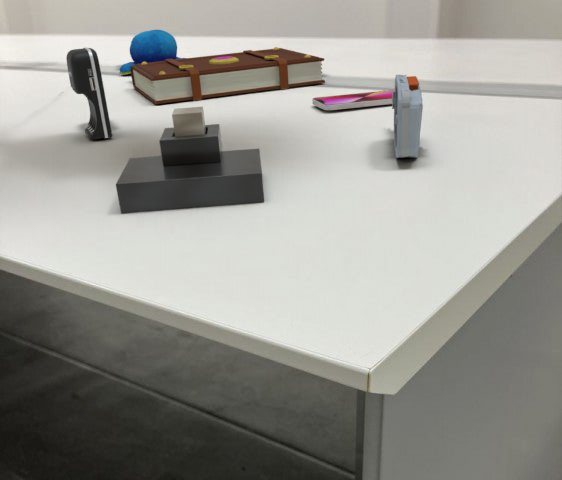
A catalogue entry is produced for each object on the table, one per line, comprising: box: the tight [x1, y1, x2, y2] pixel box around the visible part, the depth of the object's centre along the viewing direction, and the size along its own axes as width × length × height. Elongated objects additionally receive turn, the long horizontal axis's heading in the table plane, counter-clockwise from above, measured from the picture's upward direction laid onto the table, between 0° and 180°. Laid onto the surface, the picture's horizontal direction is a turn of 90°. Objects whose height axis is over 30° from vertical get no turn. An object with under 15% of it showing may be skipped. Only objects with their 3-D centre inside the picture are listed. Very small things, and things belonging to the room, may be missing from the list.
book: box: [130, 46, 326, 105], centre depth 128 cm, size 23×32×5 cm
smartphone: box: [312, 89, 395, 111], centre depth 106 cm, size 7×1×15 cm
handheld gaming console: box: [391, 74, 424, 160], centre depth 77 cm, size 14×3×8 cm, turn 174°
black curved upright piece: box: [65, 46, 113, 140], centre depth 95 cm, size 7×4×11 cm, turn 22°
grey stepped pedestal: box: [115, 123, 265, 214], centre depth 70 cm, size 14×11×6 cm
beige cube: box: [171, 106, 206, 137], centre depth 70 cm, size 3×3×3 cm
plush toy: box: [119, 29, 186, 75], centre depth 153 cm, size 17×17×8 cm
